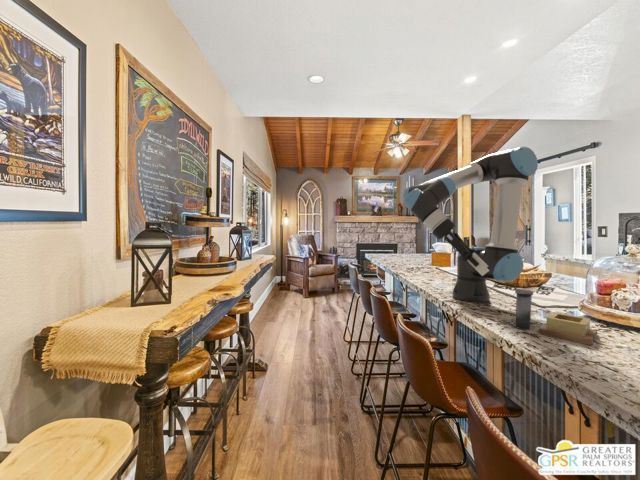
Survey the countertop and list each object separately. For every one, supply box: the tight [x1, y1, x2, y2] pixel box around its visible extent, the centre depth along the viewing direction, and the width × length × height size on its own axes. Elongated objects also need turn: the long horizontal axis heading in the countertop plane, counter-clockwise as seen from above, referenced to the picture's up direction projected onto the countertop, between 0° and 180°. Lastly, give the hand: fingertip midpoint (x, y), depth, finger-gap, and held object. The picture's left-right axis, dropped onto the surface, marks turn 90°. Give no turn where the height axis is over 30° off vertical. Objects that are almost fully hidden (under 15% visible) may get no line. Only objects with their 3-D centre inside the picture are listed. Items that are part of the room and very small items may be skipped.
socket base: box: [538, 322, 598, 346], centre depth 94 cm, size 12×12×2 cm
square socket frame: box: [546, 311, 591, 337], centre depth 94 cm, size 9×9×4 cm
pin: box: [514, 288, 534, 330], centre depth 100 cm, size 5×5×12 cm
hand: (485, 270), depth 104 cm, fingers open, 13 cm apart
